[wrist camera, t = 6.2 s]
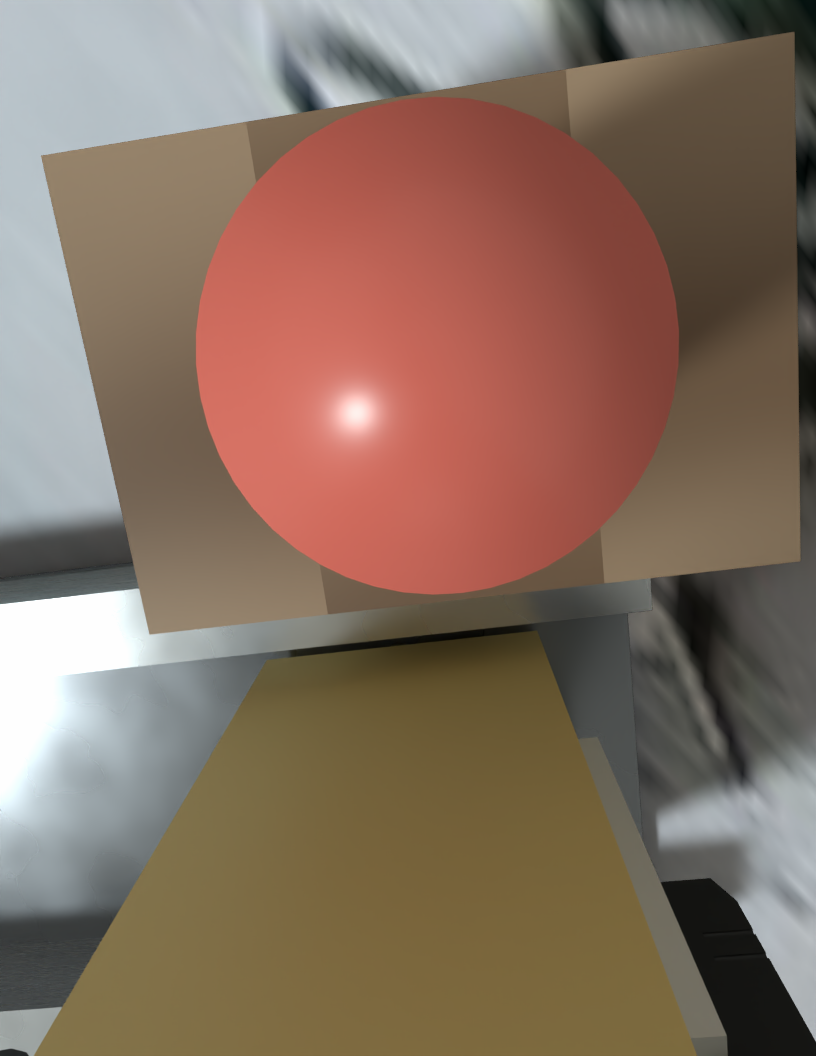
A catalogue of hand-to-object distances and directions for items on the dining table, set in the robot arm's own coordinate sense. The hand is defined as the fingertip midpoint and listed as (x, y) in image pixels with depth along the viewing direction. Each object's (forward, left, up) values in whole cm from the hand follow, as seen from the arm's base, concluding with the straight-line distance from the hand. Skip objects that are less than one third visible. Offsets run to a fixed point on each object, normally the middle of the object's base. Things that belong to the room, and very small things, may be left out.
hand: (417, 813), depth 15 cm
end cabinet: (-9, +2, -2) cm, 9 cm away
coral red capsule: (-9, +2, +5) cm, 10 cm away
